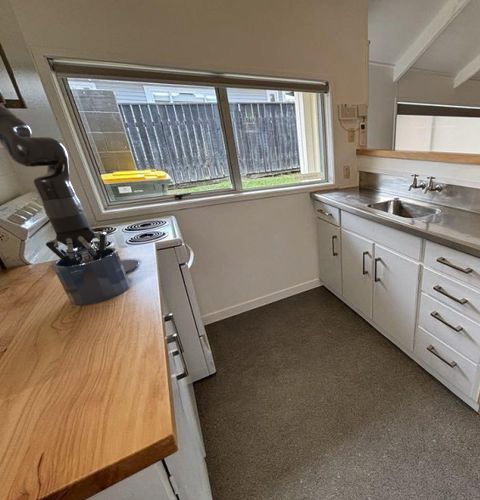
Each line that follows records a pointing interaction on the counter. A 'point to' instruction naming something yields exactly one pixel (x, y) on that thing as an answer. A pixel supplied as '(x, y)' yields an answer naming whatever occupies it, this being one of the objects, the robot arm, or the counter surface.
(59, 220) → the robot arm
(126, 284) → the pot
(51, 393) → the counter surface
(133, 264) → the pot lid
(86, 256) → the lighter
